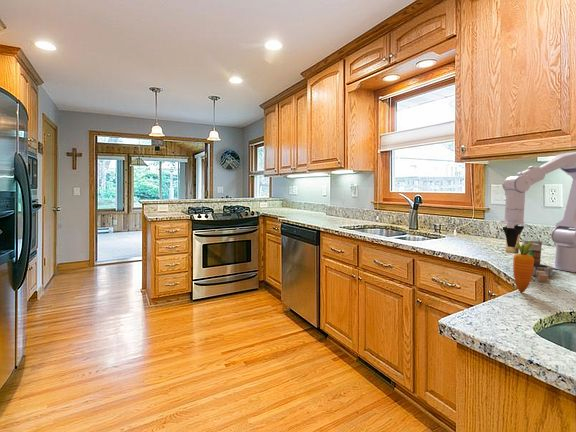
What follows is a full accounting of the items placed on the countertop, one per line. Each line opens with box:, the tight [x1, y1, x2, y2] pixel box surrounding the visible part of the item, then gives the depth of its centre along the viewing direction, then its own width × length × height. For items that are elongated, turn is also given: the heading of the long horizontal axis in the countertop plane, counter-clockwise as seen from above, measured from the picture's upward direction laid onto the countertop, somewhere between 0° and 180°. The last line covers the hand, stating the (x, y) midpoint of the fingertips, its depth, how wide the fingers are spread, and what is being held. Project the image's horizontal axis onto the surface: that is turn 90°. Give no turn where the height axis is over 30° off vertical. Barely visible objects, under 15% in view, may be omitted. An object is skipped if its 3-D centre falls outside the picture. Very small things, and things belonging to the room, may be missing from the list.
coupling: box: [532, 263, 554, 284], centre depth 116 cm, size 15×16×3 cm
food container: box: [521, 240, 543, 264], centre depth 125 cm, size 12×6×10 cm, turn 141°
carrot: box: [512, 242, 534, 294], centre depth 95 cm, size 5×5×15 cm
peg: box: [505, 234, 521, 255], centre depth 120 cm, size 4×4×7 cm
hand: (512, 246), depth 120 cm, fingers closed on peg, 4 cm apart
